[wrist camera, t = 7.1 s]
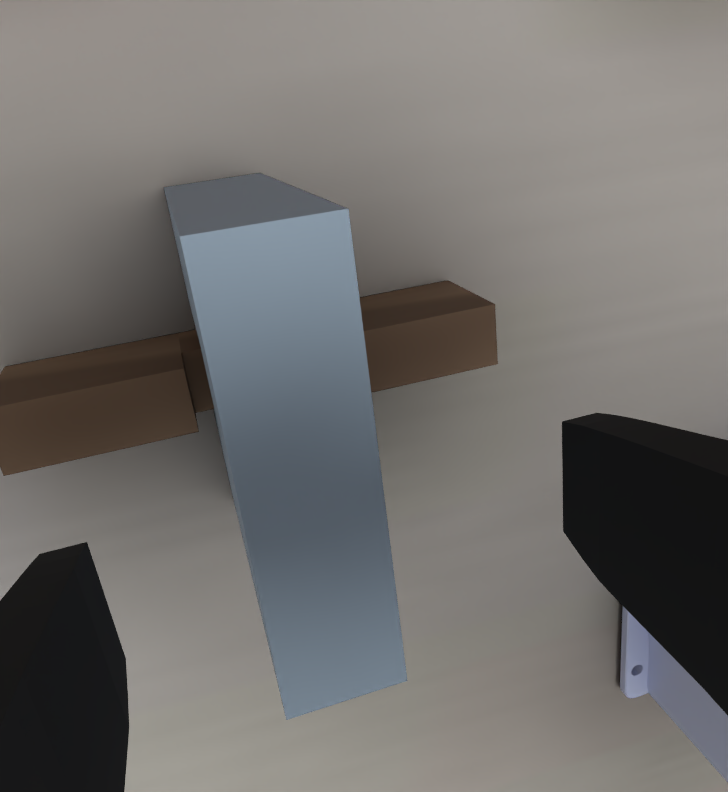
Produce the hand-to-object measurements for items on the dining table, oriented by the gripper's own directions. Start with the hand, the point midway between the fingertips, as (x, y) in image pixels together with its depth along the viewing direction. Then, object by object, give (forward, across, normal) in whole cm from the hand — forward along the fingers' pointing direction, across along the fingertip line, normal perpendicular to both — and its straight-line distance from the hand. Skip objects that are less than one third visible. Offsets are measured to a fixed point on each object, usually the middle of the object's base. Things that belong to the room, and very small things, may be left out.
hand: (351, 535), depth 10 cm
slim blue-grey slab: (+10, 0, 0) cm, 10 cm away
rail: (+10, 0, 0) cm, 10 cm away
